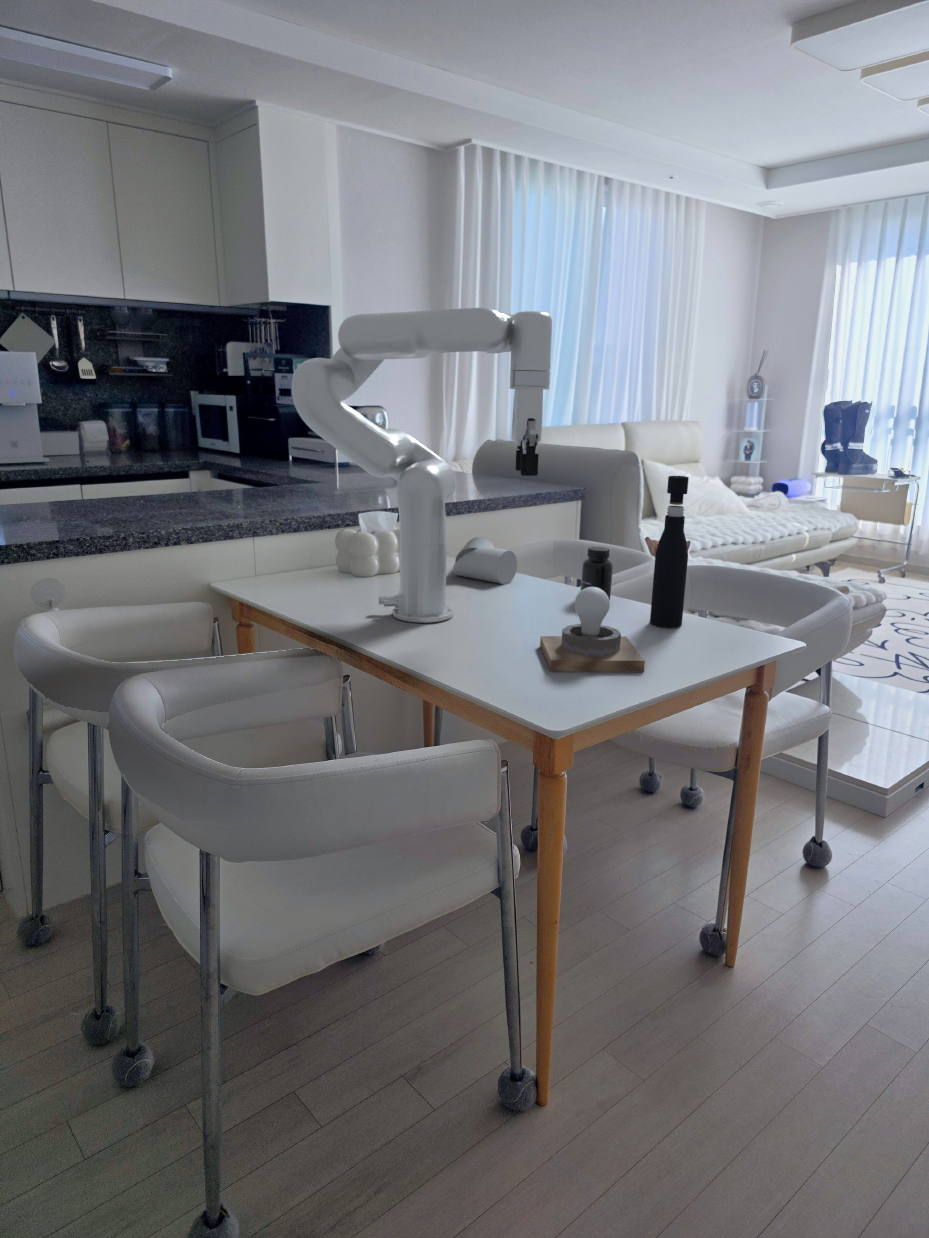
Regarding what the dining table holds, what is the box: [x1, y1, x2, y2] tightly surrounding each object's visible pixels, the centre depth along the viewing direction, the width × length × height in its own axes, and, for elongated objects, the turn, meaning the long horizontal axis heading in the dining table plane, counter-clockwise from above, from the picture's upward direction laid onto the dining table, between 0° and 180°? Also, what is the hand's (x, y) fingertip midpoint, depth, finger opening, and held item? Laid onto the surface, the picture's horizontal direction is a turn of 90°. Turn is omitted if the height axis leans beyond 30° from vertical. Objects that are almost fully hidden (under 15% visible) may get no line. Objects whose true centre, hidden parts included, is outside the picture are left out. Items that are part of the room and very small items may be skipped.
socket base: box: [539, 623, 646, 673], centre depth 146 cm, size 16×14×5 cm
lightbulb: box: [574, 587, 611, 638], centre depth 145 cm, size 6×6×11 cm
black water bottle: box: [649, 475, 690, 629], centre depth 165 cm, size 6×6×30 cm
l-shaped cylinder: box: [452, 536, 518, 585], centre depth 209 cm, size 18×10×20 cm
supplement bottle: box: [580, 546, 614, 601], centre depth 186 cm, size 7×7×12 cm
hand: (526, 472), depth 160 cm, fingers open, 9 cm apart
